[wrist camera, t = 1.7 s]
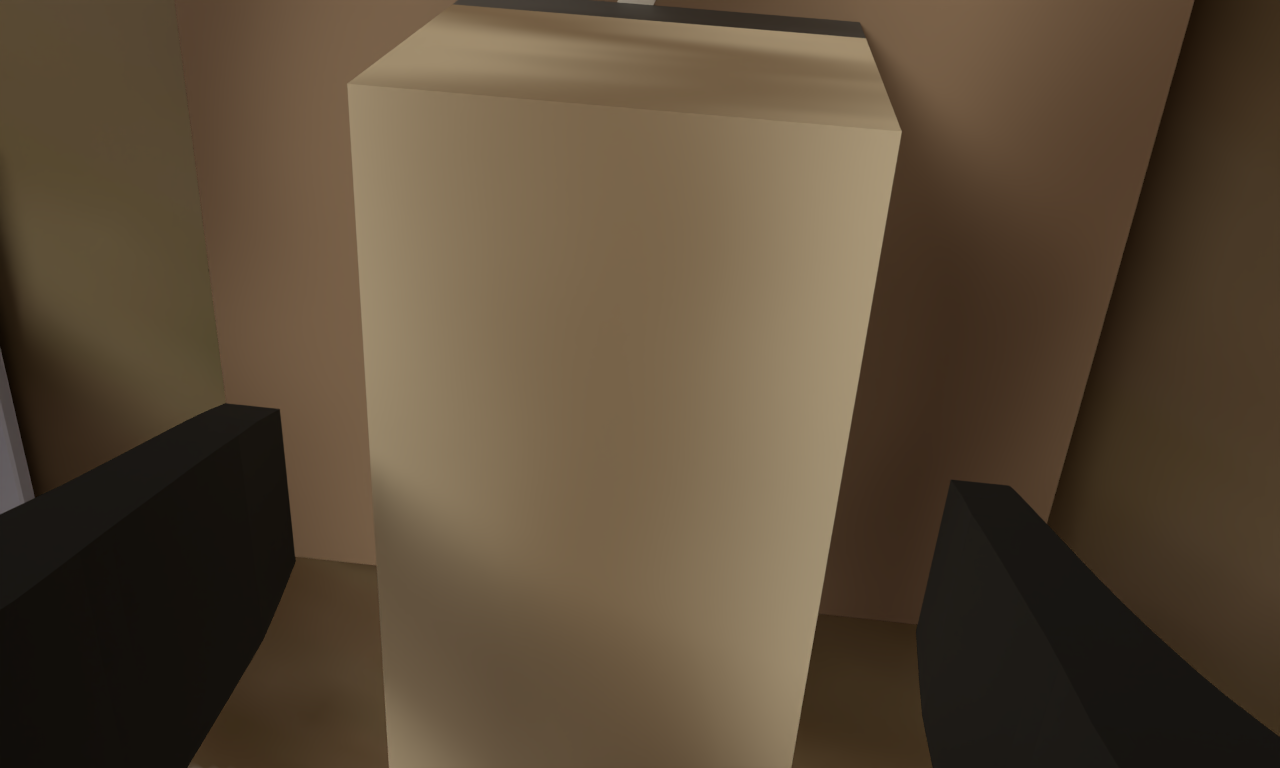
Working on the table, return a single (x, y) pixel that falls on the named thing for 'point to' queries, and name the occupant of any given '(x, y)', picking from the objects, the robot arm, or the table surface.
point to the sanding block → (611, 371)
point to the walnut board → (906, 278)
